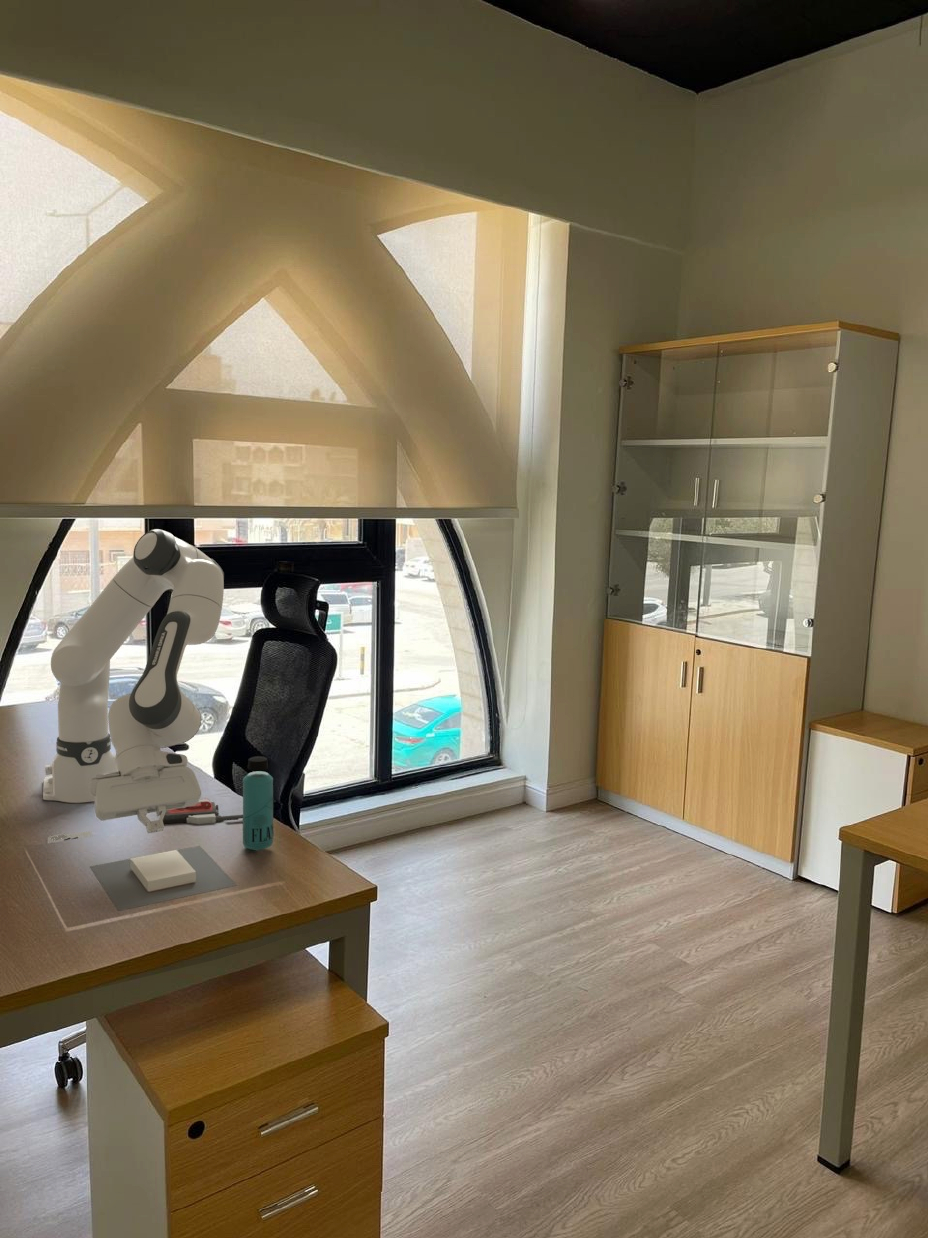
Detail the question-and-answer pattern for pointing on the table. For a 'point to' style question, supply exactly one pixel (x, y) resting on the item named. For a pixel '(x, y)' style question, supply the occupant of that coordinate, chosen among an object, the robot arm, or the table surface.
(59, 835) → the handheld gaming device
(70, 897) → the table surface
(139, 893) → the mat
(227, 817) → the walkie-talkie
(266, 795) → the beverage bottle
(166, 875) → the block
